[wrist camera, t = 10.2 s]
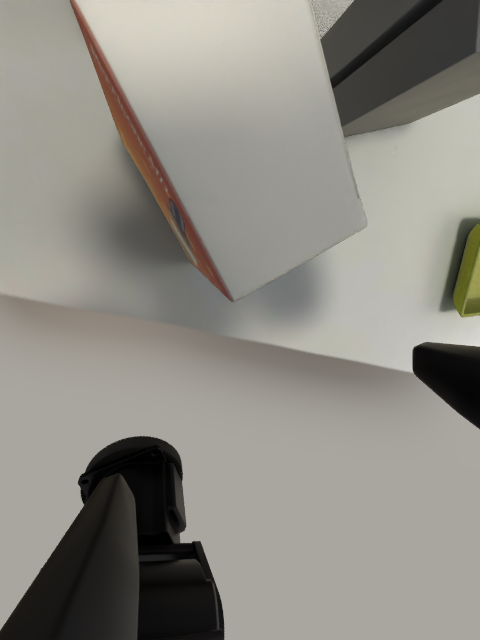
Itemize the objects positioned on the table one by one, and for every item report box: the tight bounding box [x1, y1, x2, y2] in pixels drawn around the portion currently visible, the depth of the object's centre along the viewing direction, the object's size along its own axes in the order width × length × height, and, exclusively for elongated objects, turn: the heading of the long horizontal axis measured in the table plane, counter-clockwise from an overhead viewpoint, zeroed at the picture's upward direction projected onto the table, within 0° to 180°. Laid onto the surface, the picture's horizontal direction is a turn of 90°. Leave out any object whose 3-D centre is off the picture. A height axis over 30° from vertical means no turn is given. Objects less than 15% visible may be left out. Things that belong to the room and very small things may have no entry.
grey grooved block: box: [320, 0, 480, 137], centre depth 13 cm, size 8×4×10 cm, turn 104°
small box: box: [70, 0, 367, 302], centre depth 12 cm, size 8×6×10 cm
